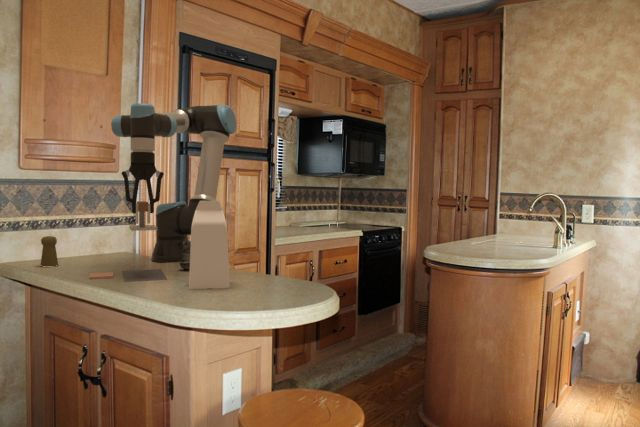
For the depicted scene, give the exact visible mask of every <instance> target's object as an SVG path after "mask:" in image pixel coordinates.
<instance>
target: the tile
mask: <svg viewBox="0 0 640 427" xmlns="http://www.w3.org/2000/svg"><path fill="white" fill-rule="evenodd" d="M113 278H114V272H111V271H109V272H90V273H89V280H101V279H102V280H103V279H104V280H105V279H113Z"/></svg>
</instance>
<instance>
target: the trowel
mask: <svg viewBox="0 0 640 427" xmlns="http://www.w3.org/2000/svg"><path fill="white" fill-rule="evenodd" d="M136 204H138V224H135V225H133V224H131V225H129V227H128V228H129V230H130V231H156V230H157V227H156V225H155V224H146V223H145V222H146V221H145V220H146V214H145V213H147V212H148V204H149V202H148V201H146V200H145V201H144V200H143V201H141V200H140V201H139V200H138V201H137V200H136Z"/></svg>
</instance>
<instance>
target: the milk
mask: <svg viewBox="0 0 640 427" xmlns="http://www.w3.org/2000/svg"><path fill="white" fill-rule="evenodd" d="M228 240H229V237H228V226H227V220H226V216H225V212H224V210H223V206H222V204H221V202H220V200H217V201H199V204H198V206H197V208H196V210H195V214H194V217H193V221H192V226H191V235H190V241H191V247H190V270H189V274H188V275H189V279H188V290H205V289H206V290H207V288H213V289H230V288H231V285H230V284H231V282H230V261H229V260H230V259H229V241H228ZM228 287H229V288H228Z"/></svg>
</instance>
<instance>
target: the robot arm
mask: <svg viewBox="0 0 640 427" xmlns="http://www.w3.org/2000/svg"><path fill="white" fill-rule="evenodd" d="M110 126H111V131H112V133H113V135H114V136H116V137H117V138H118V137H119V138H130V150H131V152H130V166H129V167H128V169H127V170H125V171H124V170H122V172H121V176H122V177H123V181H124V182H123V183H124V192H125V193H124V194H125V200H126V202H128V203H131V213H132V214H135V225H139V212H138V204H137V200H138V199H137V198H138V191H139V185H140V181H145V183H146V188H147V193H148V194H147V195H148V200H149V203H148V212H146V214H147V215H146V217H147V218H146V220H147V225H151V214H154V213H155V220H156V221H155V224H156V225H155V226H156V227H157V230H155V232H156V234H155V235H156V236H155V238H156V241H155V243H154V247H153V251H152V253H151V261H152V262H155V263H179V261H181V260H182V258H183V252H182V251H183V242H184V241H186V240H187V236H191V226H192V221H193V217H194V214H195V210H196V208H197V206H198V204H199V201H218V200H217V195H218V187H219V183H220V182H219V181H220V175H221V169H222V163H223V162H222V161H223V155H224V149H225V144H226V143H227V142H229V140H230V139H229V138H230V135H233V134H234V133H235V132H236V130H237V119H236V115H235V112H234V110H233V108H232V107H231V106H229V105H228V104H227V105H226V104H224V105H223V104H218V105H217V104H215V105H195V106H188V107H185V108H179V109H174V110H173V109H172V111H170V112H159V113H157V112H156V110H155V106H154V105H153V104H151V103H143V102H142V103H140V102H139V103H133V104H132V105H131V106H130V114H127V115H126V114H125V115H124V114H121V115H116V116H114V117H113V118H112V119H111V123H110ZM176 133H177V134H191V135H193V134H195V135H199V136H200V138H201V139H202V143H201V151H200V158H199V163H198V170H197V177H196V183H195V189H194V195H193V196H192V197H191V198H189V202H188V205H187V202H186V201H176V202H167V203H160V204H158V205H157V206H156V210H154V209H155V203H158V202H160V199H161V188H162V179H163V177H164V175H165V174H164V172H163V171H160V170H158V169H157V168H156V165H155V164H156V163H155V162H156V161H155V160H156V159H155V157H156V156H155V155H156V154H155V152H154V151H156V150H155V149H156V148H155V146H156V145H155V144H156V141H155V140H156V139H155V138H156V137H162V138H172V136H174V135H175V134H176ZM130 174H131V175H132V177H133V178H134V186H133V191H132V197H131V194H130V183H129V177H130ZM153 176H156V187H155V196H154V194H153V188H152V180H151V179H152V177H153ZM154 197H155V198H154Z"/></svg>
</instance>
